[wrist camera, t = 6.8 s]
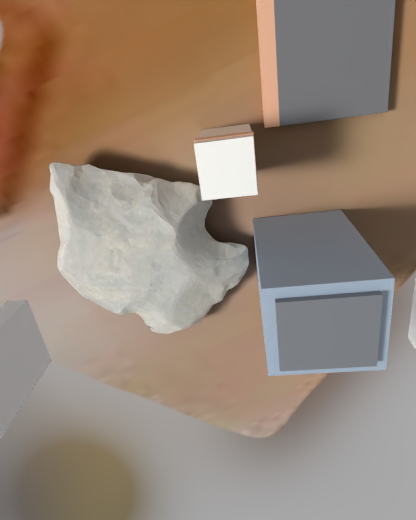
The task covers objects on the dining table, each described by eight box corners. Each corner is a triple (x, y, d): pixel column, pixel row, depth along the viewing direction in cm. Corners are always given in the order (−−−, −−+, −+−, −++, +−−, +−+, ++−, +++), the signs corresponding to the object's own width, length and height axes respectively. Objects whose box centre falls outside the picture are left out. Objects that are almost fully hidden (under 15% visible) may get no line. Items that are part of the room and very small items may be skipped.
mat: (255, -12, 34) (255, -15, 33) (393, -36, 32) (398, -39, 32) (264, 126, 39) (264, 128, 38) (383, 111, 38) (387, 112, 37)
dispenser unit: (252, 218, 44) (261, 293, 29) (340, 209, 42) (398, 282, 28) (258, 289, 48) (269, 386, 33) (339, 283, 47) (387, 380, 32)
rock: (172, 365, 47) (-18, 253, 38) (173, 328, 54) (10, 224, 44) (284, 265, 41) (89, 102, 32) (271, 236, 47) (104, 92, 38)
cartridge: (201, 129, 40) (192, 142, 31) (250, 122, 39) (254, 134, 31) (207, 177, 42) (201, 201, 34) (254, 172, 41) (258, 195, 33)
